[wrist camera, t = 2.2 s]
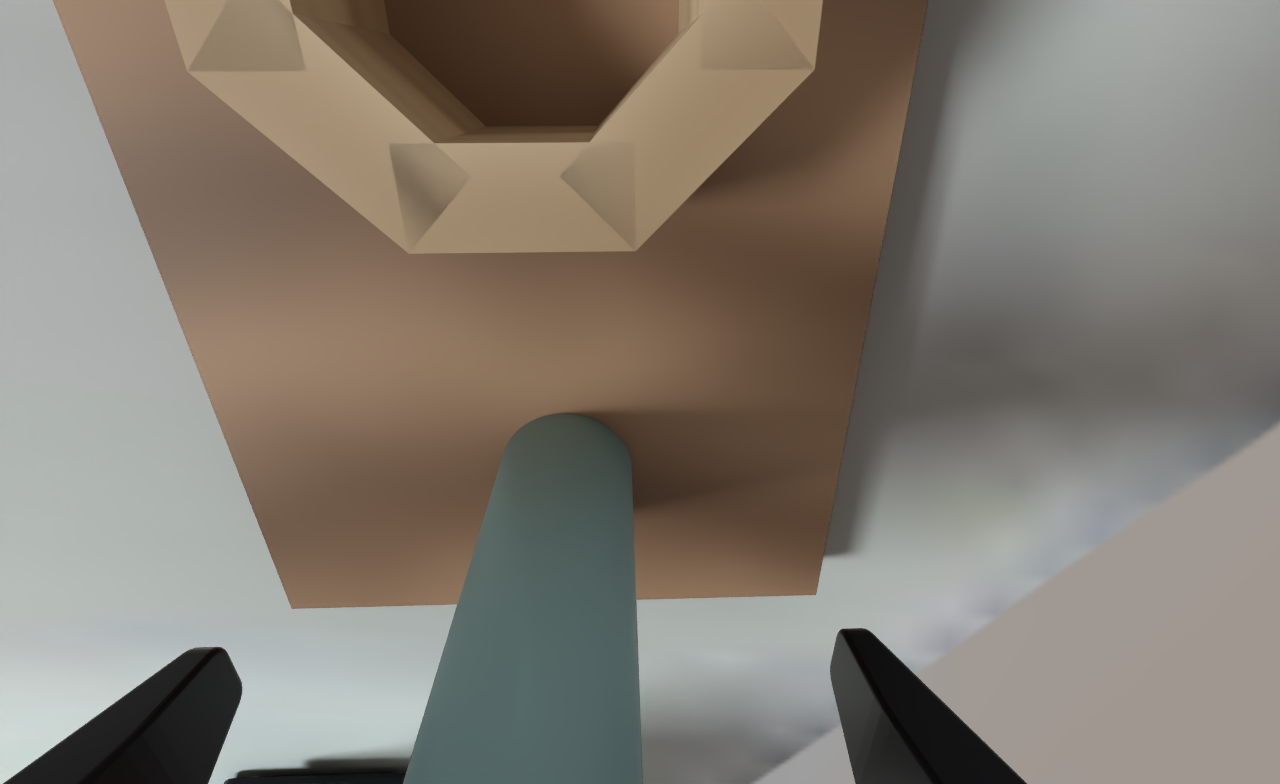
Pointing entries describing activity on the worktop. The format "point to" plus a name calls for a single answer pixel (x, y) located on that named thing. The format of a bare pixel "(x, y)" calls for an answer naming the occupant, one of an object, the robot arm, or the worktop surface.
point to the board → (521, 303)
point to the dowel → (544, 624)
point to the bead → (495, 155)
